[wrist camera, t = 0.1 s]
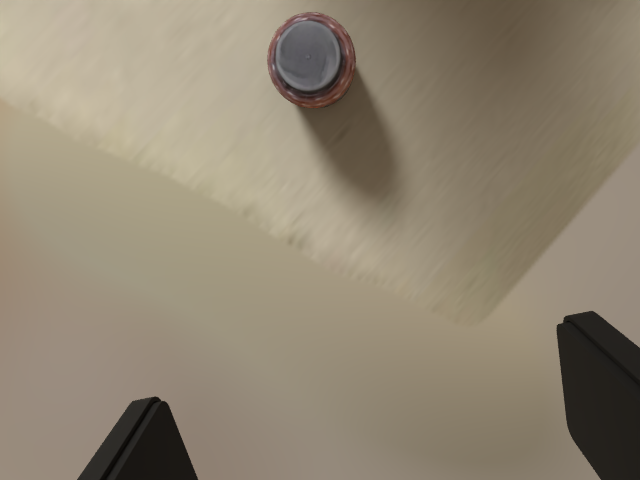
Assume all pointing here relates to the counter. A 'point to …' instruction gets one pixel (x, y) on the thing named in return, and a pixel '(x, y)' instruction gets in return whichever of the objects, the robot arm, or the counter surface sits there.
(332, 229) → the counter surface
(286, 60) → the supplement bottle
